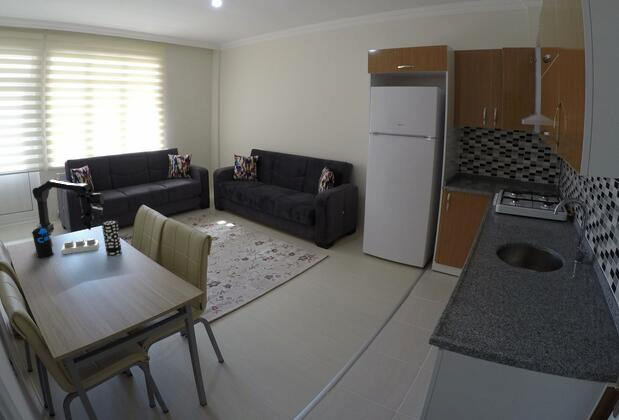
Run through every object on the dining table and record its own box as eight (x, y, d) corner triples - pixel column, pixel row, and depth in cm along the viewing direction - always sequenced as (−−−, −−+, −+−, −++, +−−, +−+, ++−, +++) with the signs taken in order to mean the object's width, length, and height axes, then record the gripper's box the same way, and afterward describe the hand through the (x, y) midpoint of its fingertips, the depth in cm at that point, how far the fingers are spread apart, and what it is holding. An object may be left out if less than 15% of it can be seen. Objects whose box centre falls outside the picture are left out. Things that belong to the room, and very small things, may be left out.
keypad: (62, 254, 220) (61, 249, 219) (64, 248, 228) (63, 244, 227) (97, 249, 228) (97, 244, 227) (98, 244, 236) (98, 239, 235)
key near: (65, 248, 222) (64, 243, 221) (65, 245, 226) (65, 241, 225) (72, 247, 224) (71, 242, 223) (73, 244, 227) (72, 240, 226)
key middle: (76, 246, 225) (75, 242, 224) (77, 244, 228) (76, 239, 227) (83, 245, 226) (83, 241, 225) (84, 243, 230) (83, 239, 229)
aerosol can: (33, 257, 215) (26, 225, 210) (47, 252, 223) (41, 221, 217) (43, 259, 213) (36, 227, 207) (56, 254, 220) (50, 223, 214)
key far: (87, 245, 227) (86, 240, 226) (88, 242, 231) (87, 238, 230) (94, 244, 229) (94, 239, 228) (95, 241, 232) (94, 237, 231)
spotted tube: (111, 257, 217) (106, 226, 211) (103, 254, 221) (98, 223, 215) (124, 252, 224) (120, 222, 218) (116, 249, 228) (112, 219, 222)
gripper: (100, 206, 221) (104, 230, 225) (101, 199, 237) (104, 221, 241) (79, 208, 216) (83, 232, 220) (81, 201, 232) (85, 223, 236)
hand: (90, 227), depth 230 cm, fingers open, 9 cm apart
